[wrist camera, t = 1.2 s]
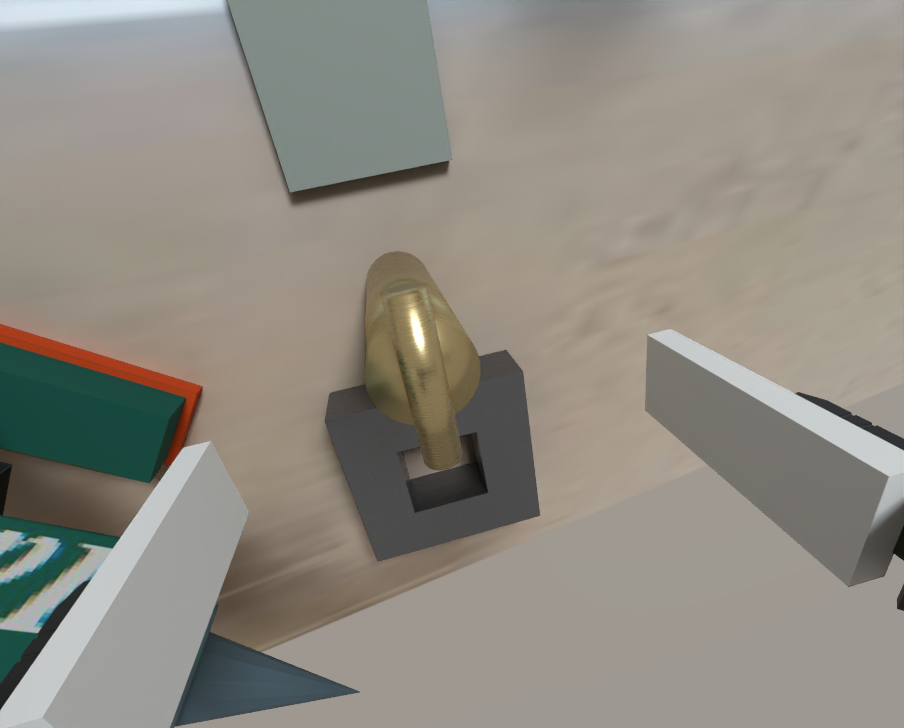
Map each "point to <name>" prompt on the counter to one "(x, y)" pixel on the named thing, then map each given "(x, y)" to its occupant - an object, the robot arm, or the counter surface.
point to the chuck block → (447, 492)
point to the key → (417, 356)
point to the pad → (345, 86)
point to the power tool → (82, 553)
